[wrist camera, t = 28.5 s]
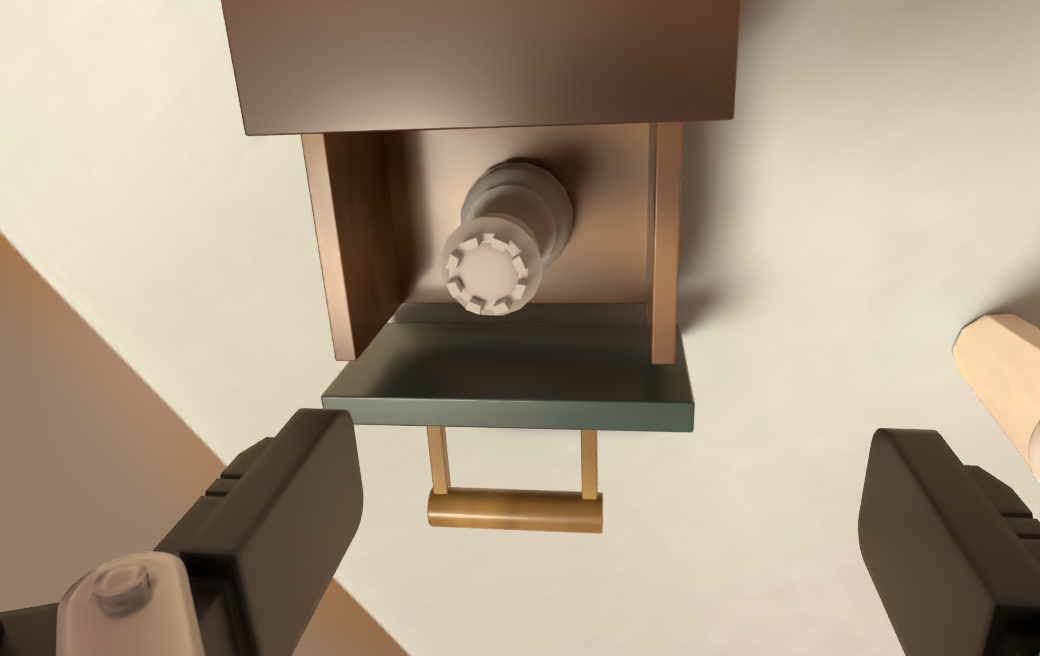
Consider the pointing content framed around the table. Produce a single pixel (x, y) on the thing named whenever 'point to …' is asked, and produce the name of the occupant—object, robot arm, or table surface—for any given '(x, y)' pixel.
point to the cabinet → (479, 63)
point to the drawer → (504, 346)
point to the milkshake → (1005, 377)
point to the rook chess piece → (506, 238)
